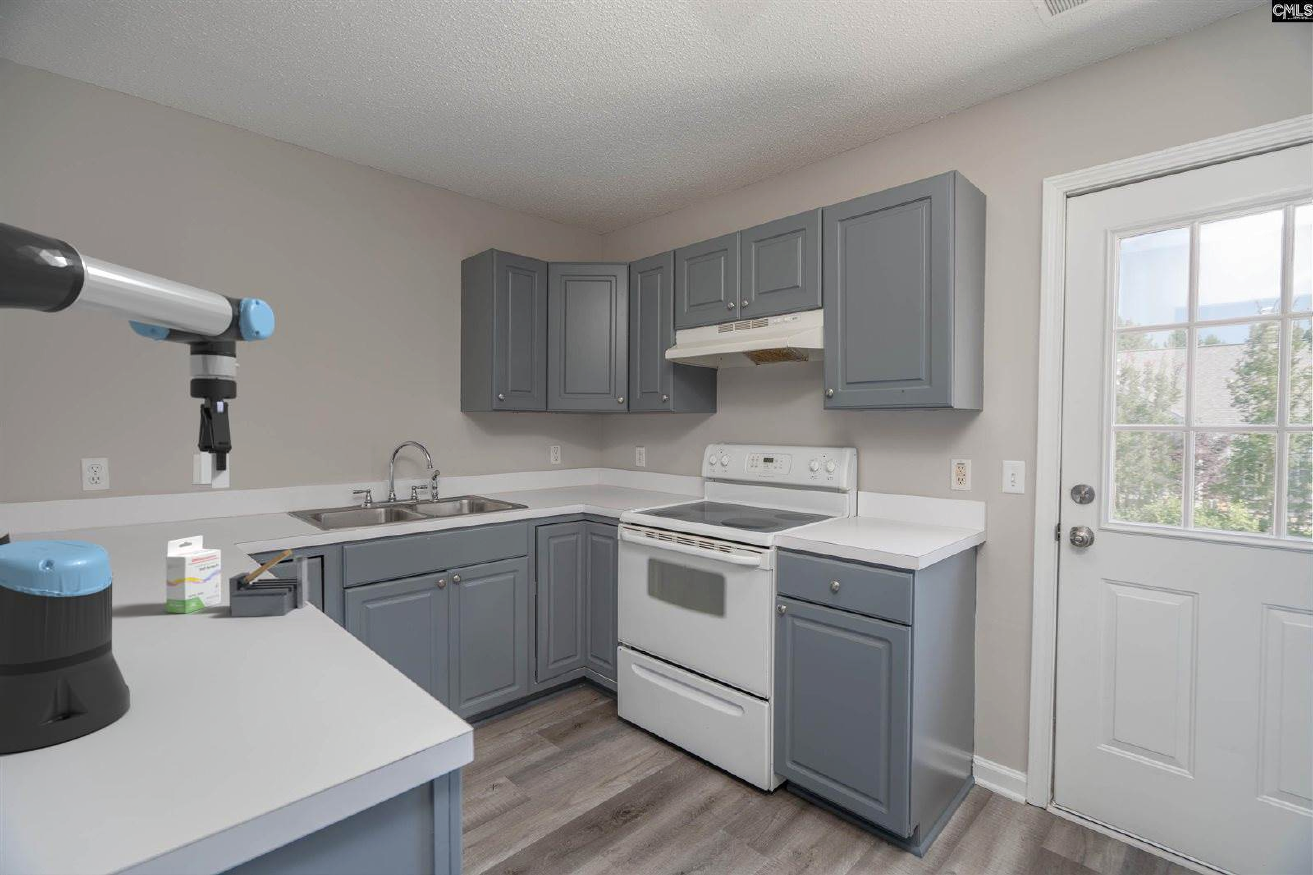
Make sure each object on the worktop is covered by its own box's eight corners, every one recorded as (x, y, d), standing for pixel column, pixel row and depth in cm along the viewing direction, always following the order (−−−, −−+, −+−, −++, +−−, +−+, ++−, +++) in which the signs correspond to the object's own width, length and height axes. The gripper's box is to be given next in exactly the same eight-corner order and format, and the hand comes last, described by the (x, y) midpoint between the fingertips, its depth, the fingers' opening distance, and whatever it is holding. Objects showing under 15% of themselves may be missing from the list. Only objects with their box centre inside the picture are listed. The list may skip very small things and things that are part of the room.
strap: (285, 556, 130) (281, 551, 130) (241, 586, 129) (237, 581, 129) (294, 552, 134) (290, 547, 134) (251, 581, 133) (248, 577, 133)
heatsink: (292, 615, 127) (291, 562, 126) (219, 617, 125) (219, 564, 125) (317, 598, 139) (316, 550, 138) (251, 600, 137) (250, 551, 137)
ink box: (185, 614, 127) (184, 542, 127) (165, 613, 128) (164, 541, 128) (222, 602, 135) (221, 535, 135) (203, 601, 136) (202, 534, 136)
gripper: (249, 376, 117) (249, 488, 117) (224, 383, 135) (224, 480, 135) (200, 373, 112) (200, 491, 112) (181, 381, 130) (181, 482, 130)
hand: (214, 485), depth 124 cm, fingers open, 13 cm apart
